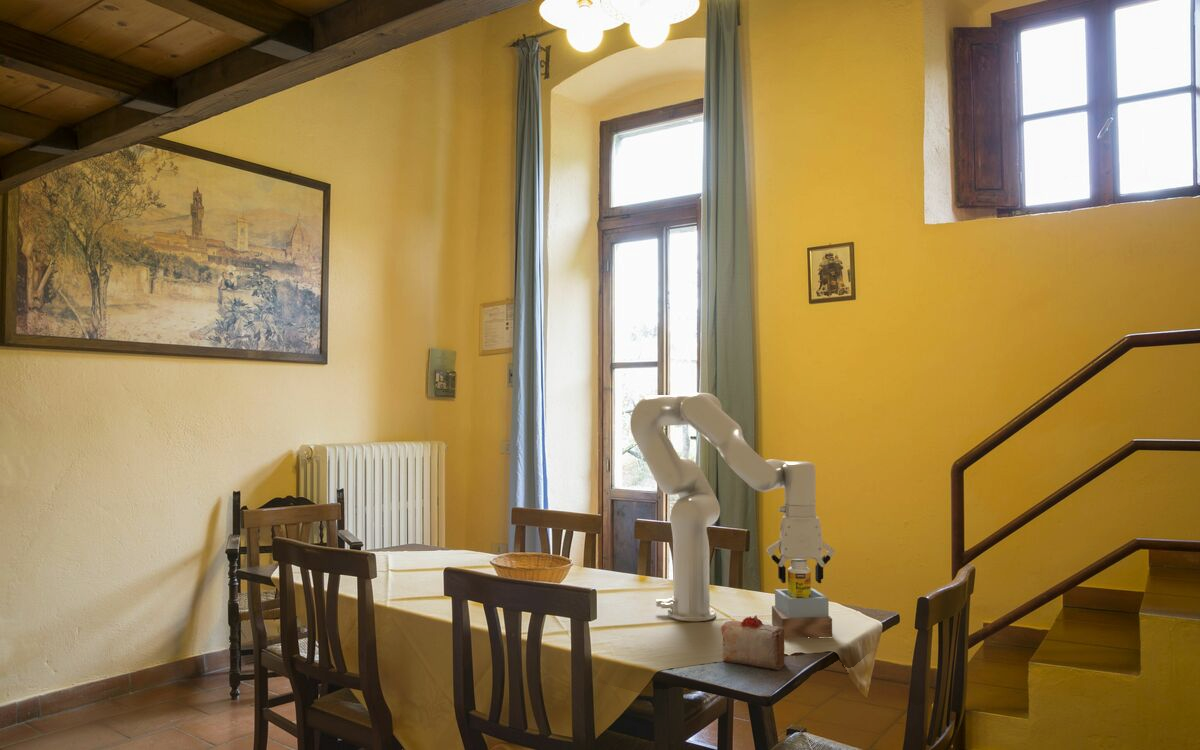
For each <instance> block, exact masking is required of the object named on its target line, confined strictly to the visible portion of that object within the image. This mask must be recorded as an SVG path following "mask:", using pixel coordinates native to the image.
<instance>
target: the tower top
mask: <svg viewBox="0 0 1200 750" xmlns="http://www.w3.org/2000/svg"><path fill="white" fill-rule="evenodd" d="M774 606H775V608H776V609H778V610H779V611H780V612H782V613H783V614H784V615H785V616H787V617H788V618H806V617H829V616H830V614H829V613H830V612H829V597H827V596H826V595H825V594H823V593H821V592H819V591H818V590H816V589H815V588H814V587H813V588H812V587H811V598H790V597H789V596H788V588H783V589H781V588H779V589H774Z"/></svg>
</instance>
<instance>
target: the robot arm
mask: <svg viewBox="0 0 1200 750" xmlns="http://www.w3.org/2000/svg"><path fill="white" fill-rule="evenodd" d="M629 423H630V431H631V434H632V437H633V440H634V441H635V444H636V445H637V447H638V448H639V449H638V450H639V451H640V452H641V455H642V457H643V458H644V460H645V462H646V465H647V466H648V468H649V470H650V472H651V474H652V476H653V478H654V480H655V482H656V484H657V486H658V488H659V489H660V491H661V492H663V493H664V494H665V495H669V496H674V495H675V496H676V495H678V497H679V499H678V500H677V501H676V502H675V503H674V504H673V506H672V508H671V510H670V516H669V517H670V518H669V519H670V526H671V534H672V546H673V548H672V550H673V551H672V554H673V555H672V556H673V557H672V559H673V568H672V569H673V595H671V598H667V599H656V600H655V602H656V603H655V605H656V608H661V609H668V610H667V616H668V617H670V618H671V619H674V620H678V621H682V622H703V621H710V620H712V619H714V618H716V610H715V609H713V608H712V607H710V605H711V604H710V599H711V598H710V541H709V535H708V529H707V528H708V527H710V526H713V525H715V523H716V522H717V521H718V520H719V517H720V514H721V507H720V503H719V500H718V498H717V496H716V494H715V493H714V490H713V489H712V486H710V483H709V481H708V478H706V476H705V474H704V471H702V469H701V467H700V466H699V465H698V464H697V463H696V462H695V461H694V460H693V459H690V458H688V457H680V456H679V454H678V452H677V451H676V449H675V448H674V445H673V443H672V441H671V440H670V438H669V437H668V436H667V435H666V433H665V432H664V430H663V429H662V428H663V427H668V426H683V425H684V426H686V425H687V426H688V425H689V426H691V427H692V428H693V429H695V431H697V432H698V433H699V434H700V435H701V436H702V437H703V438H704V439H705V440H707V441H708V442H709V444H711V445H712V446H713V447H714V448H715V449H716V450H717V451H718V452H719V454H720V456H721V457H722V458H723V460H724V461H725V463H726V464H727V466H728V467H729V468H730V469H731V470H732V471H733V472H734V473H735V474H736V475H737V476H738V477H739V478H740V479H742V480H743V481H744V483H746V484H747V485H748V486H750V487H751V488H752V489H754V490H756V491H757V492H764V493H765V492H770V491H772V490H775V489H776V490H777V489H781V488H782V489H783V488H784V504H783V505H782V506H778V512H779V513H783V514H784V515H783V516H782V518H781V520H780V528H779V536H778V537H779V539H778V540H777V541H775V542H774V543H772V544H771V545H769V546H767V547H766V550H765V551H766V552H767V554H768V555H769V557H770V558H771V559H772V560H773V561H774V563H775V564H777V572H778V573H777V578H778V579H779V580H780V582H781V583H782V584H786V582H787V580H786V579H787V576H786V575H787V573H786V572H787V571H786V569H787V568H786V566H785V564H786V563H787V561H788V559H789V560H792V559H805V560H809V559H810V560H811V559H812V560H814V561H815V562H816V564H815V571H814V572H815V573H814V574H815V578H814V579H815V581H816V582H817V583H818V584H822V580H823V579H824V568H825V566H826V564H827V563H828V562H829V561H830V560H831V558H832V557H833V556H834V553H835V552H836V549H835V548H833V547H832V546H830V545H829V544H827V543H826V542H824V541H823V532H822V525H821V520H820V517H818V516H817V511H816V510H817V505H816V502H817V499H816V496H817V494H816V493H817V492H816V483H817V482H816V478H817V477H816V466H815V464H814V463H813V462H810V461H803V460H802V461H801V460H800V461H798V460H797V461H796V460H795V461H789V460H788V461H787V460H781V459H775V458H773V459H770V458H769V459H766V460H765V459H764V458H763V457H762V456H760V455H759V453H757V452H756V451H754V449H753V448H752V447H751V446H750V445H749V444H748V443H747V441H746V440H745V438H744V435H743V430H742V428H741V425H740V424H739V423H737V422H736V421H735V420H734V419H733V418H731V416H729V415H728V414H727V413H726V412H725V411H723V407H722V403H721V401H720V400H719V399H718V397H717V396H715V395H714V394H712V393H709V392H693V393H690V394H674V395H673V394H671V395H668V394H667V395H663V394H661V395H657V394H655V395H649V396H645V397H643V398H642V399H640V400H639V401H638V402H637V403H636V404H635V406H634V407H633V410H632V412H631V416H630V422H629ZM777 549H778V550H779V554H780V555H779V557H778V556H777V555H776V554H775V551H776V550H777ZM824 550H826V553H825V555H824Z"/></svg>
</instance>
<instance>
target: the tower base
mask: <svg viewBox="0 0 1200 750" xmlns="http://www.w3.org/2000/svg"><path fill="white" fill-rule="evenodd" d="M771 626H778V627H782V628H784V630H785V635H784V639H820V638H819V637H832V638H833V618H832V616H830V615H829V617H806V618H788V617H787V616H785V615H784V614H783V613H782V612H780V611H779V610H778V609H776V608H775V605H772V606H771ZM808 637H809V638H808Z"/></svg>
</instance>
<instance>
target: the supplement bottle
mask: <svg viewBox="0 0 1200 750" xmlns="http://www.w3.org/2000/svg"><path fill="white" fill-rule="evenodd" d="M811 577H812V575H811V569H810V568H809V567H808V559H790V567H788V568H787V589H788V596H789V597H790V598H811V588H812V584H811V583H812V579H811Z"/></svg>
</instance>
